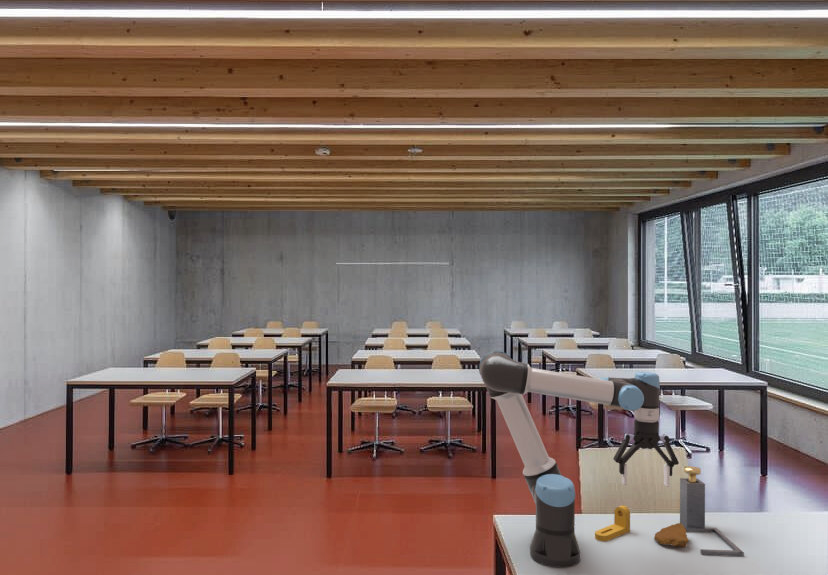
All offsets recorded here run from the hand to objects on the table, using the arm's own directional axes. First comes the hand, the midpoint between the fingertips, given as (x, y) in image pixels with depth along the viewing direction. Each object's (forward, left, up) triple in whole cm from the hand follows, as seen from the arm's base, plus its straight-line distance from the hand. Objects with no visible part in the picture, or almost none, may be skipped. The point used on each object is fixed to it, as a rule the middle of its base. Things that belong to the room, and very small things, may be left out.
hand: (645, 484), depth 190 cm
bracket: (-10, +5, -19) cm, 22 cm away
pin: (+20, +14, -6) cm, 25 cm away
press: (+21, +4, -18) cm, 28 cm away
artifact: (+8, 0, -19) cm, 21 cm away
